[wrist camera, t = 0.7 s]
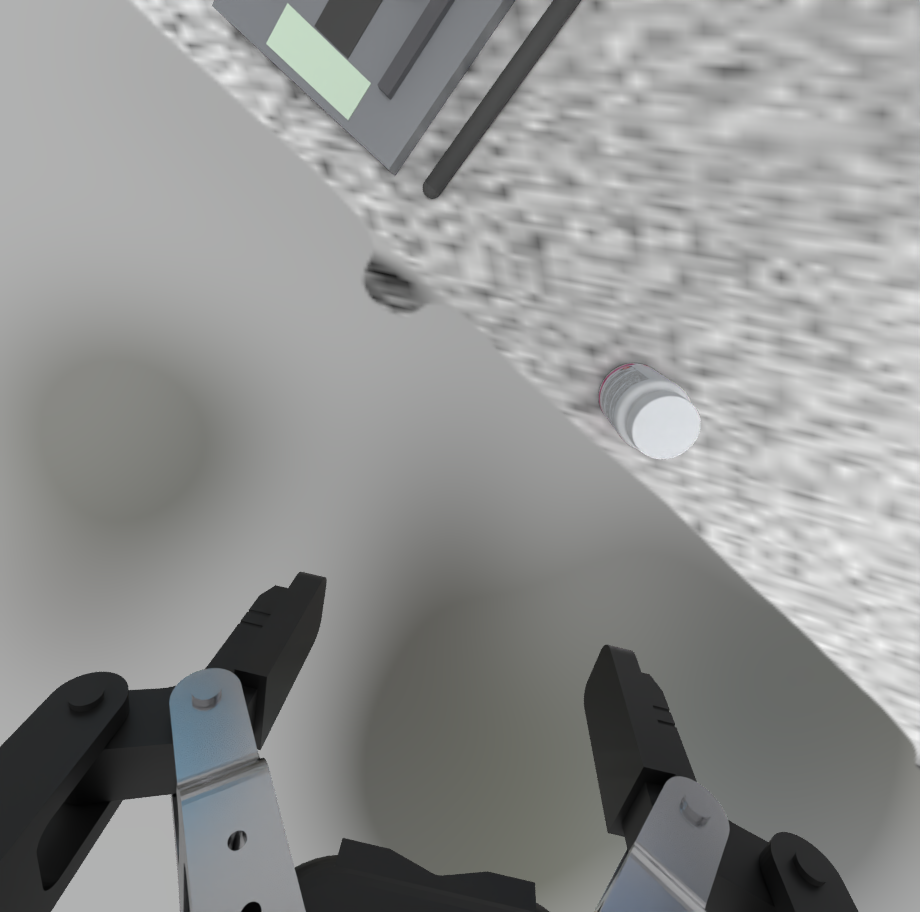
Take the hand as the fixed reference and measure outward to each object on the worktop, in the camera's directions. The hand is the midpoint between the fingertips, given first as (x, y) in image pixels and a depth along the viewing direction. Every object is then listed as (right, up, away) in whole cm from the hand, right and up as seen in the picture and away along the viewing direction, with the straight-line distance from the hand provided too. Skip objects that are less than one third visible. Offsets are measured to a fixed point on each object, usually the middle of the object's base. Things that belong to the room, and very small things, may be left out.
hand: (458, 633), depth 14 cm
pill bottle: (+13, +10, +23) cm, 28 cm away
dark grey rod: (+4, +29, +16) cm, 33 cm away
